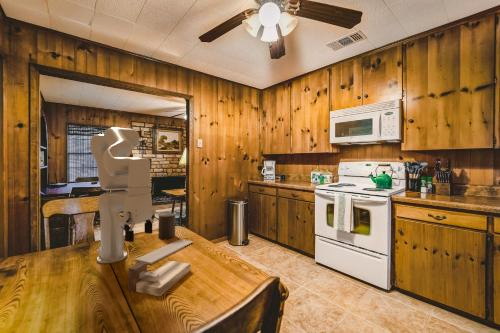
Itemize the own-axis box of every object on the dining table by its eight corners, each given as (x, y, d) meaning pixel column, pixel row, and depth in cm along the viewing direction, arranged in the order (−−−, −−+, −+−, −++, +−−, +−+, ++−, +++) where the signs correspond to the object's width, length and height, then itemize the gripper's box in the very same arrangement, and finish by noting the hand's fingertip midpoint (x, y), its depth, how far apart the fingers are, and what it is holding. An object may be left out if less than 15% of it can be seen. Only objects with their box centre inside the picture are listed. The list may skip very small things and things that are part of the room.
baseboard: (131, 261, 111) (150, 266, 106) (131, 255, 111) (151, 259, 106) (176, 240, 139) (193, 243, 135) (176, 235, 139) (193, 238, 134)
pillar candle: (165, 240, 138) (165, 214, 138) (154, 237, 143) (155, 212, 143) (178, 236, 146) (178, 212, 146) (168, 233, 151) (168, 210, 151)
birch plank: (136, 291, 84) (136, 283, 84) (170, 267, 104) (170, 260, 103) (159, 296, 82) (159, 287, 81) (190, 270, 101) (190, 263, 101)
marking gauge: (128, 290, 85) (128, 268, 85) (140, 282, 91) (140, 261, 91) (151, 294, 83) (151, 272, 82) (162, 286, 88) (162, 265, 88)
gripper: (146, 188, 96) (147, 229, 97) (111, 193, 80) (111, 244, 80) (162, 189, 94) (162, 231, 95) (129, 195, 78) (130, 246, 78)
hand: (139, 237), depth 88 cm, fingers open, 9 cm apart
